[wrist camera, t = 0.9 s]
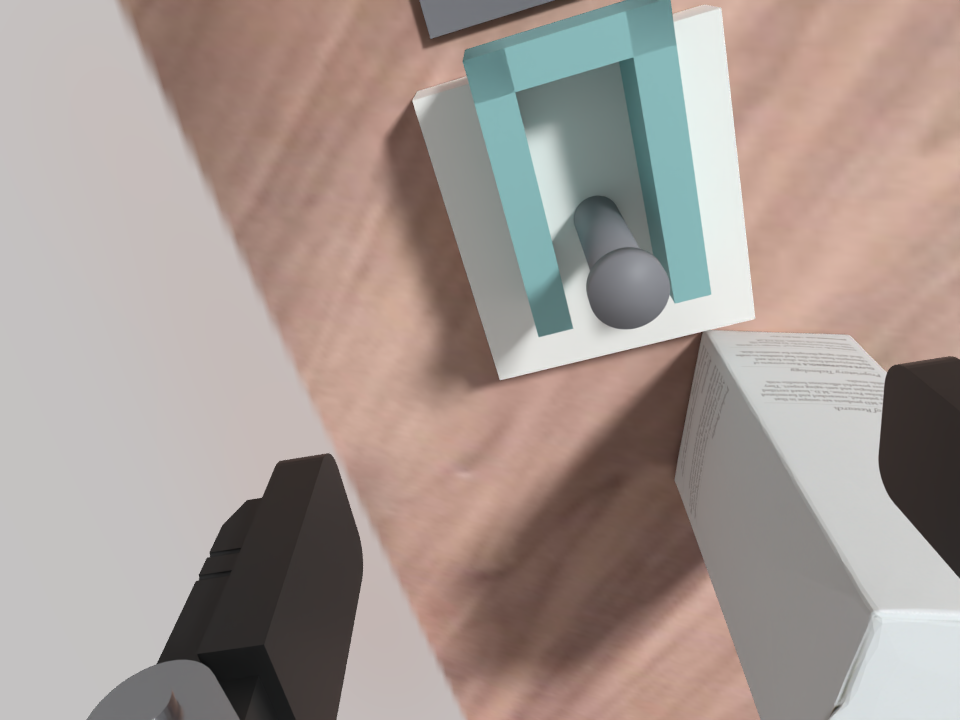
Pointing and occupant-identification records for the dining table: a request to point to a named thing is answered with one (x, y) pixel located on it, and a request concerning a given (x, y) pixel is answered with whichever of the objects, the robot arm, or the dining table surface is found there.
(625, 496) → the dining table surface
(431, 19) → the felt pad
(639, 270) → the stand
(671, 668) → the dining table surface
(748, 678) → the skincare box
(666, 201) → the c link
